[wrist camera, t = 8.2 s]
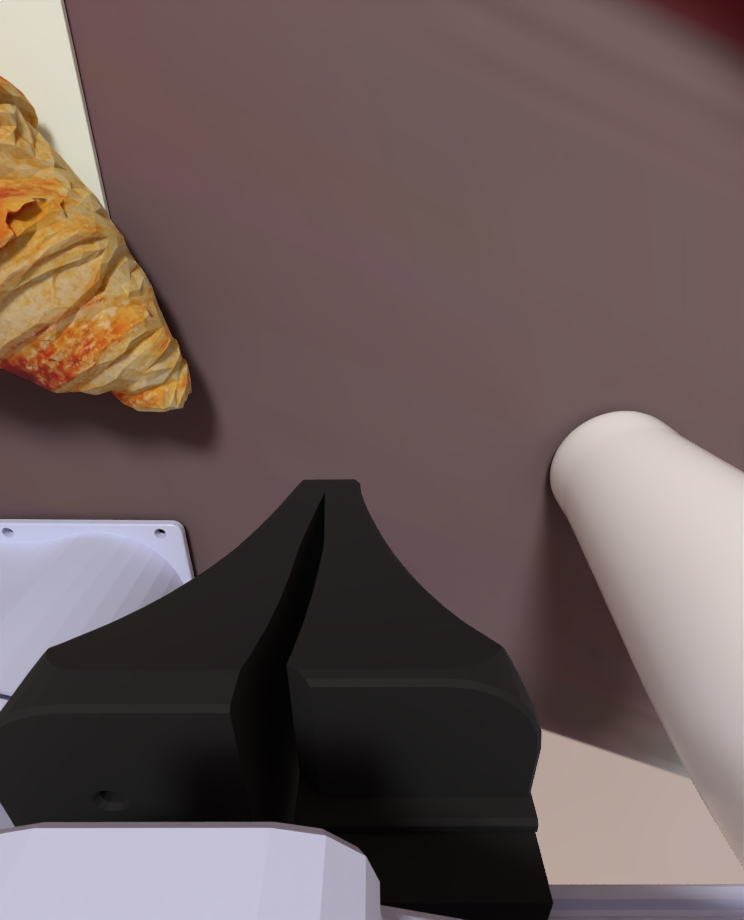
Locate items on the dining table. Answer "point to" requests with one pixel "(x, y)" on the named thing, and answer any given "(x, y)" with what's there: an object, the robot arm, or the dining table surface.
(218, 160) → the dining table surface
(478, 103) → the dining table surface
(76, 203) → the croissant
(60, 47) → the mat
